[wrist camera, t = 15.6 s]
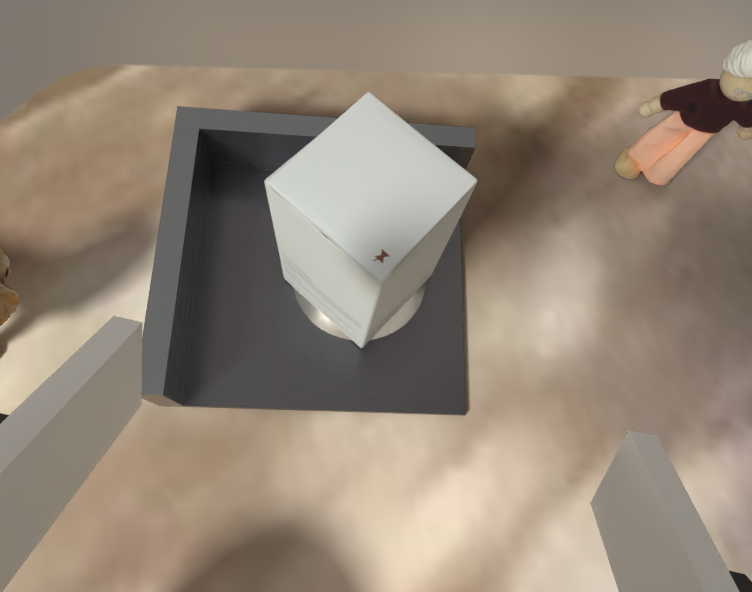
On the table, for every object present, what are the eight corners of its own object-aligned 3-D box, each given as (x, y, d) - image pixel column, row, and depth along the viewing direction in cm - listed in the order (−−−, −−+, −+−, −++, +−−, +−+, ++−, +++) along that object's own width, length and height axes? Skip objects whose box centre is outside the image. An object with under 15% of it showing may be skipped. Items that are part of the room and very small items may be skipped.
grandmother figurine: (604, 188, 42) (716, 73, 30) (599, 144, 44) (704, 16, 32) (702, 194, 43) (849, 83, 31) (694, 150, 44) (832, 27, 32)
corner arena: (457, 167, 42) (474, 127, 37) (464, 415, 36) (485, 405, 32) (194, 150, 40) (177, 106, 36) (159, 405, 35) (133, 394, 30)
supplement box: (435, 274, 38) (485, 181, 26) (360, 352, 36) (379, 289, 24) (355, 204, 40) (370, 85, 28) (279, 276, 37) (258, 180, 25)
